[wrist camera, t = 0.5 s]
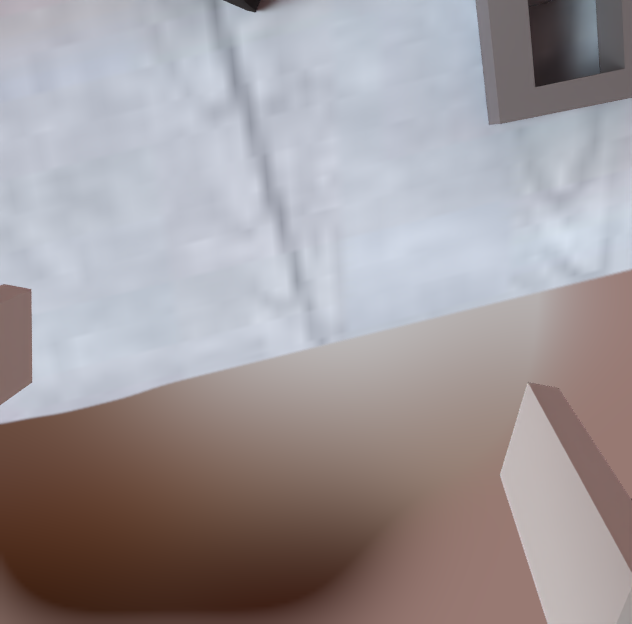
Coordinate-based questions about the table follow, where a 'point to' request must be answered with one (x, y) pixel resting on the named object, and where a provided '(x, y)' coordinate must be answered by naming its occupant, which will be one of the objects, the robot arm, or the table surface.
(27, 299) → the robot arm
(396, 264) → the table surface
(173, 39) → the table surface
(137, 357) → the table surface
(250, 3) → the electronic device
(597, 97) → the gray cinder block
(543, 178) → the table surface
